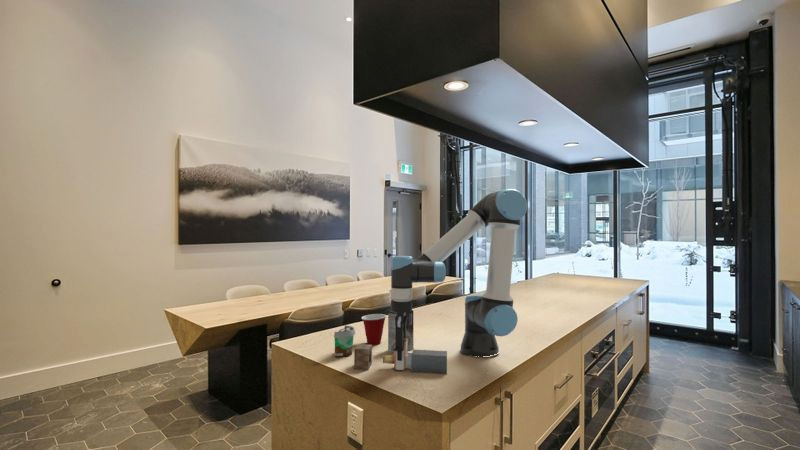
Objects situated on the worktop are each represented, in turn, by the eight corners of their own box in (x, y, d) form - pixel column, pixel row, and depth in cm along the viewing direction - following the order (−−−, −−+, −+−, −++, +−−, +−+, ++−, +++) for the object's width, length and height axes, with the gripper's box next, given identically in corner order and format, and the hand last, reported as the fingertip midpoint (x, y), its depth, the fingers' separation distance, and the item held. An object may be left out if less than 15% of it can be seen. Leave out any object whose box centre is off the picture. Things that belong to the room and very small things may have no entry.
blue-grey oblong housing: (446, 368, 134) (447, 351, 134) (446, 374, 128) (446, 356, 128) (413, 366, 135) (413, 349, 136) (411, 372, 130) (411, 354, 130)
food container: (349, 360, 142) (349, 333, 143) (333, 358, 143) (334, 332, 144) (359, 350, 154) (359, 325, 155) (344, 349, 155) (345, 325, 156)
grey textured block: (371, 364, 137) (372, 344, 138) (368, 369, 131) (368, 349, 132) (358, 363, 138) (358, 344, 138) (354, 369, 132) (354, 348, 132)
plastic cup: (361, 340, 171) (361, 313, 171) (385, 339, 172) (385, 313, 172) (360, 346, 160) (361, 318, 160) (386, 346, 161) (386, 318, 161)
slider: (445, 366, 134) (445, 339, 134) (445, 371, 129) (445, 343, 129) (384, 363, 136) (384, 337, 137) (382, 367, 131) (382, 340, 132)
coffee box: (402, 346, 162) (403, 308, 162) (413, 349, 157) (414, 310, 158) (387, 350, 155) (387, 310, 156) (398, 353, 151) (398, 312, 151)
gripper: (394, 295, 143) (393, 358, 142) (386, 303, 126) (386, 375, 125) (414, 296, 142) (413, 359, 141) (409, 304, 125) (408, 376, 124)
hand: (400, 366), depth 133 cm, fingers closed on slider, 5 cm apart
